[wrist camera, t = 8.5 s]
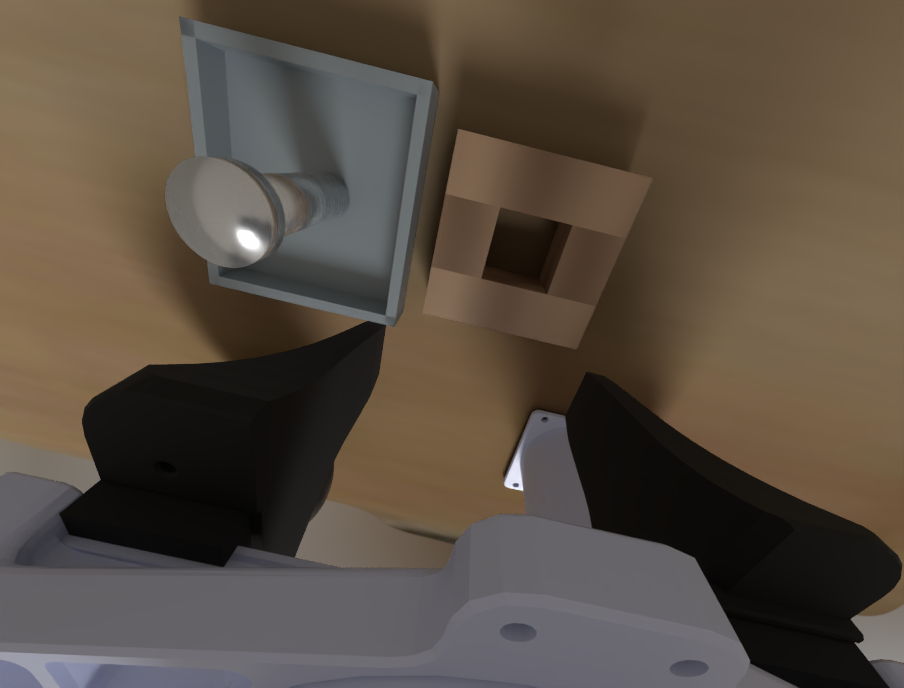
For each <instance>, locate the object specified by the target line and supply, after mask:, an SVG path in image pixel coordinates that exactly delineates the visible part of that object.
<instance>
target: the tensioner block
mask: <svg viewBox="0 0 904 688" xmlns="http://www.w3.org/2000/svg"><path fill="white" fill-rule="evenodd" d="M652 180H653V178H650V177H647V176H643V175H639V174H635V173H631V172H627V171H623V170H619V169H615V168H611V167H607V166H603V165H599V164H595V163H591V162H587V161H583V160H579V159H576V158H572V157H568V156H564V155H560V154H556V153H552V152H548V151H544V150H540V149H536V148H532V147H528V146H524V145H520V144H516V143H512V142H508V141H504V140H501V139H497V138H493V137H489V136H485V135H481V134H477V133H473V132H469V131H465V130H461V129H458V132H457V137H456V142H455V147H454V152H453V158H452V163H451V168H450V173H449V178H448V183H447V188H446V193H445V199H444V204H443V209H442V214H441V219H440V224H439V229H438V234H437V240H436V245H435V250H434V255H433V260H432V265H431V270H430V275H429V281H428V286H427V291H426V296H425V301H424V306H423V311H422V313H424V314H428V315H432V316H436V317H440V318H445V319H449V320H453V321H457V322H462V323H466V324H470V325H474V326H479V327H483V328H487V329H491V330H495V331H500V332H504V333H508V334H512V335H517V336H521V337H525V338H529V339H534V340H538V341H542V342H546V343H550V344H555V345H559V346H563V347H567V348H572V349H576V350H577V348H578V346H579V343H580V341H581V339H582V337H583V335H584V332H585V330H586V328H587V326H588V323H589V321H590V319H591V317H592V314H593V312H594V310H595V308H596V305H597V303H598V301H599V299H600V296H601V294H602V292H603V290H604V288H605V285H606V283H607V281H608V279H609V276H610V274H611V272H612V270H613V267H614V265H615V263H616V261H617V258H618V256H619V254H620V252H621V249H622V247H623V245H624V243H625V241H626V238H627V236H628V234H629V232H630V229H631V227H632V225H633V223H634V220H635V218H636V216H637V214H638V211H639V209H640V207H641V205H642V202H643V200H644V198H645V196H646V194H647V191H648V189H649V187H650V185H651V182H652ZM500 207H501V208H505V209H509V210H513V211H517V212H521V213H525V214H529V215H533V216H537V217H541V218H545V219H549V220H553V221H557V222H558V225H557V228H556V231H555V234H554V237H553V240H552V242H551V245H550V248H549V251H548V254H547V257H546V260H545V263H544V265H543V268H542V271H541V274H540V277H539V278H535V277H531V276H526V275H522V274H518V273H514V272H510V271H506V270H502V269H498V268H493V267H489V266H485V263H486V259H487V255H488V251H489V248H490V244H491V240H492V237H493V233H494V229H495V225H496V222H497V218H498V214H499V210H500Z"/></svg>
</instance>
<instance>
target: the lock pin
mask: <svg viewBox="0 0 904 688" xmlns="http://www.w3.org/2000/svg"><path fill="white" fill-rule="evenodd" d="M165 201H166V207H167V211H168V214H169V217H170V220H171V222H172V224H173V226H174V228H175V229H176V231H177V233H178V234H179V236H180V237H181V238H182V240H183V241H184V242H185V243H186V244H187V245H188V246H189V247H190V248H191V249H192V250H193V251H194V252H195V253H197V254H198V255H199V256H201V257H202V258H204V259H206V260H207V261H209V262H211V263H214V264H216V265H219V266H223V267H228V268H240V267H245V266H248V265H250V264H253V263H255V262H257V261H260V260H262V259H265V258H267V257H269V256H270V255H272V254H273V253H274V252H275V251H276V250H277V249H278V248H279V246H280V245H281V243H282V240H283V238H284V236H286V235H289V234H292V233H295V232H298V231H301V230H303V229H306V228H309V227H312V226H315V225H318V224H321V223H324V222H327V221H329V220H332V219H335V218H338V217H340V216H342V215H343V214H344V213H345V212H346V211H347V209H348V206H349V202H350V197H349V191H348V189H347V186H346V185H345V183H344V182H343V180H342V179H341V178H339V177H338V176H337V175H335V174H333V173H330V172H293V173H260V172H259V171H257V170H256V169H255V168H253V167H252V166H250V165H248V164H247V163H244V162H242V161H240V160H237V159H233V158H228V157H202V156H198V157H191V158H188V159H185V160H183V161H182V162H180V163H179V164H178V165H176V166H175V167H174V169H173V170H172V171H171V173H170V175H169V177H168V180H167V183H166V188H165Z"/></svg>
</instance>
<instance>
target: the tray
mask: <svg viewBox="0 0 904 688" xmlns="http://www.w3.org/2000/svg"><path fill="white" fill-rule="evenodd" d="M179 18H180V27H181V35H182V44H183V53H184V62H185V71H186V80H187V88H188V97H189V106H190V115H191V124H192V133H193V142H194V150H195V157H198V156H202V157H228V158H233V159H237V160H240V161H242V162H244V163H247V164H248V165H250V166H252V167H253V168H255V169H256V170H257V171H259V172H260V173H293V172H330V173H333V174H335V175H337V176H338V177H339V178H341V179H342V180H343V182H344V183H345V185H346V186H347V189H348V191H349V197H350V202H349V206H348V209H347V211H346V212H345V213H344V214H343V215H342V216H340V217H338V218H335V219H332V220H329V221H327V222H324V223H321V224H318V225H315V226H312V227H309V228H306V229H303V230H301V231H298V232H295V233H292V234H289V235H286V236H284V238H283V240H282V243H281V245H280V246H279V248H278V249H277V250H276V251H275V252H274V253H273V254H272V255H270V256H269V257H267V258H265V259H262V260H260V261H257V262H255V263H253V264H250V265H248V266H245V267H240V268H228V267H223V266H219V265H216V264H214V263H211V262H209V261H207V265H208V274H209V283H210V284H213V285H217V286H221V287H226V288H230V289H234V290H239V291H243V292H247V293H251V294H256V295H260V296H264V297H268V298H273V299H277V300H281V301H285V302H290V303H294V304H298V305H302V306H307V307H311V308H315V309H319V310H324V311H328V312H332V313H337V314H341V315H345V316H349V317H354V318H358V319H362V320H366V321H371V322H376V323H380V324H384V325H388V326H392V327H395V325H396V323H397V321H398V319H399V318H400V316H401V314H402V312H403V308H404V302H405V296H406V290H407V284H408V278H409V272H410V266H411V260H412V254H413V248H414V242H415V236H416V230H417V224H418V218H419V212H420V206H421V200H422V194H423V188H424V182H425V176H426V170H427V164H428V158H429V152H430V146H431V140H432V134H433V128H434V122H435V116H436V110H437V104H438V98H439V91H438V90H437V88H436V86H435V84H434V83H433V81H429V80H425V79H421V78H417V77H413V76H409V75H406V74H402V73H398V72H394V71H390V70H386V69H382V68H378V67H374V66H370V65H367V64H363V63H359V62H355V61H351V60H347V59H343V58H339V57H335V56H332V55H328V54H324V53H320V52H316V51H312V50H308V49H304V48H300V47H297V46H293V45H289V44H285V43H281V42H277V41H273V40H269V39H265V38H262V37H258V36H254V35H250V34H246V33H242V32H238V31H234V30H230V29H227V28H223V27H219V26H215V25H211V24H207V23H203V22H199V21H195V20H192V19H188V18H184V17H180V16H179Z"/></svg>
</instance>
